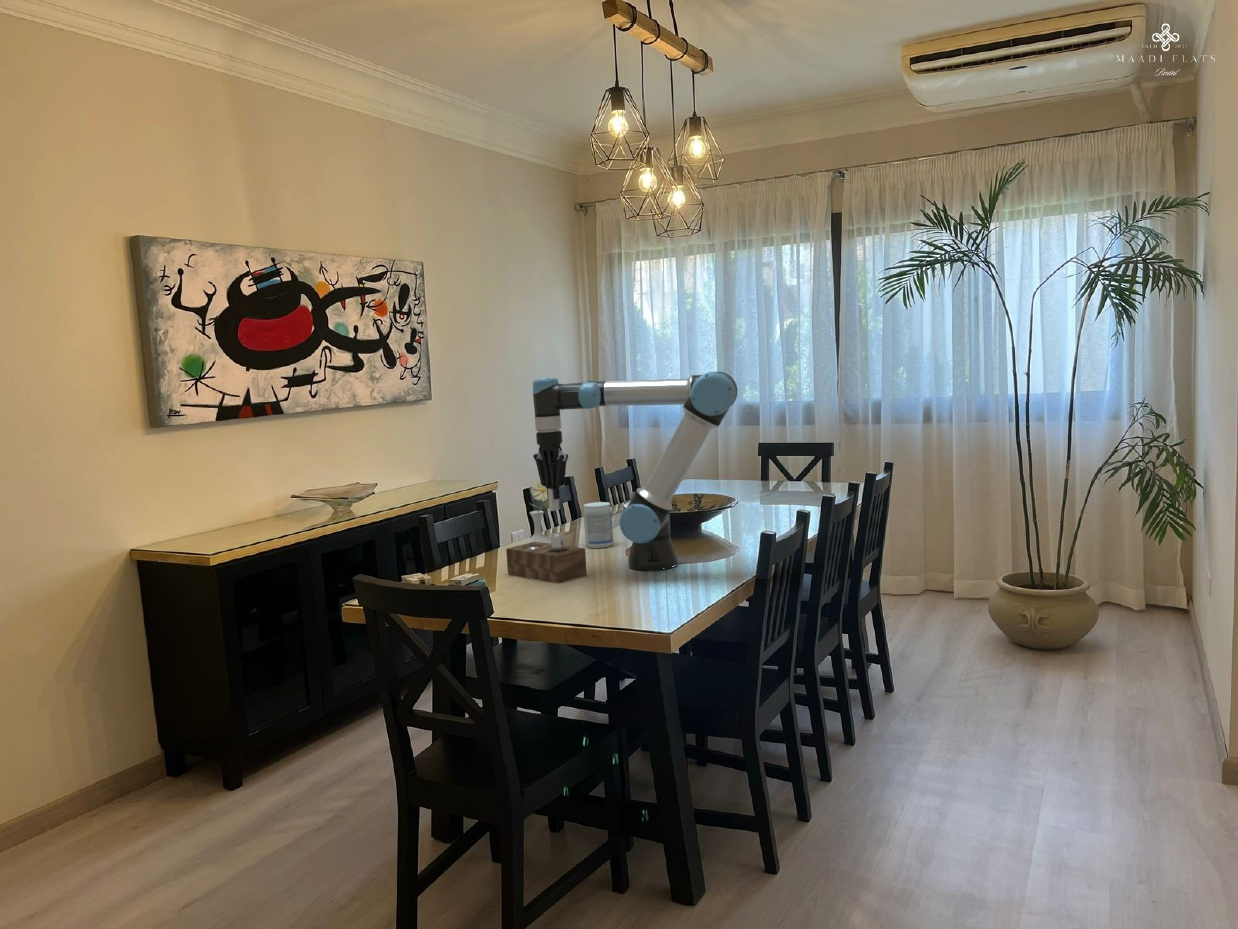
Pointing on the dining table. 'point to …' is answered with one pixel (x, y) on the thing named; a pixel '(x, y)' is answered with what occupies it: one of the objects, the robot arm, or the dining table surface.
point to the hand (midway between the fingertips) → (554, 509)
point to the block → (546, 562)
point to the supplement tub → (598, 525)
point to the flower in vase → (539, 513)
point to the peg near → (557, 542)
